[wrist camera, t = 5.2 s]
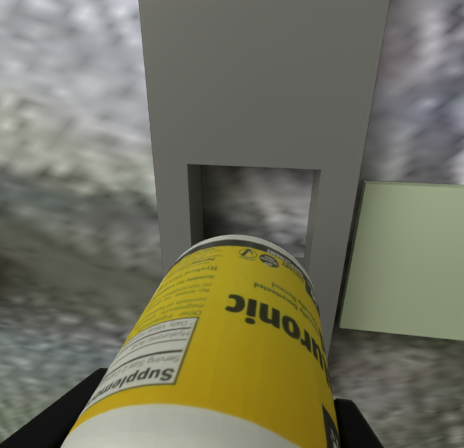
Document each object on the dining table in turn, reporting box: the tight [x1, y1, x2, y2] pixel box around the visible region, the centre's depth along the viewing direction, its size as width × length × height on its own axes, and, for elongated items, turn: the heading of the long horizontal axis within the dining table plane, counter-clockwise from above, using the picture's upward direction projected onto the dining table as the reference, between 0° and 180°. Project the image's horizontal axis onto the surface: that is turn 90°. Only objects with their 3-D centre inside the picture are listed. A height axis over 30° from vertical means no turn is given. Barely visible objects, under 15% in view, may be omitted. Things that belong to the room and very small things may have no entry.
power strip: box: [138, 0, 390, 360], centre depth 18 cm, size 28×10×4 cm, turn 179°
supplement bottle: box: [61, 235, 341, 448], centre depth 7 cm, size 5×5×10 cm
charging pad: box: [338, 180, 464, 341], centre depth 19 cm, size 10×10×1 cm
